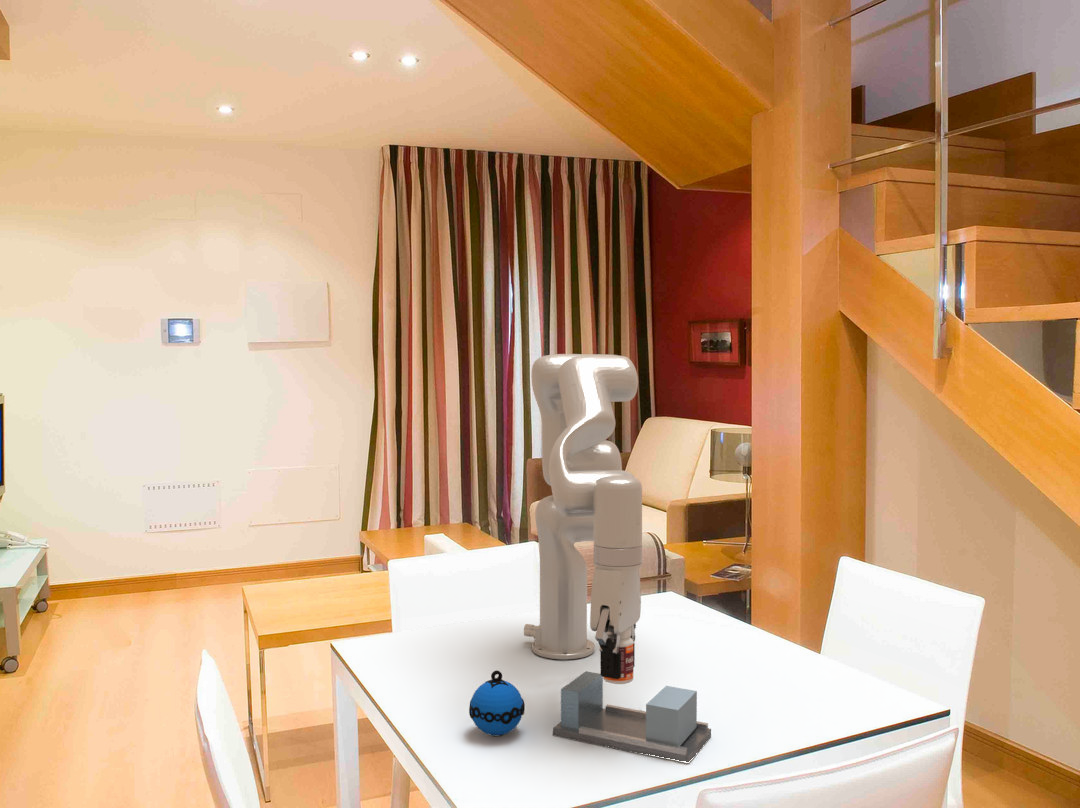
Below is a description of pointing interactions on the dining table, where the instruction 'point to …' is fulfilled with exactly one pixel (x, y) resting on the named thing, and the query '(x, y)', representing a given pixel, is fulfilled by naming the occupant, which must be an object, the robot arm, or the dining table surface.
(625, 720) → the vise base
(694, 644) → the dining table surface
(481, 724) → the ornament
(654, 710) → the plate
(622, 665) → the pill bottle
